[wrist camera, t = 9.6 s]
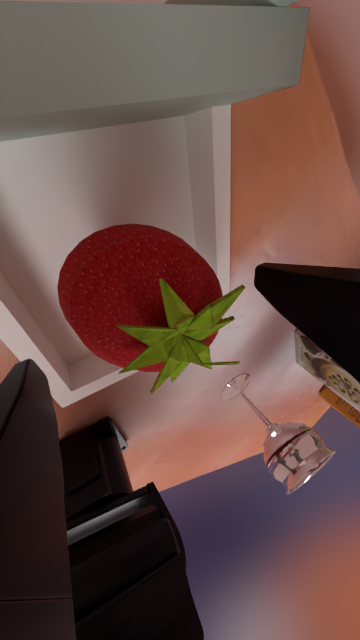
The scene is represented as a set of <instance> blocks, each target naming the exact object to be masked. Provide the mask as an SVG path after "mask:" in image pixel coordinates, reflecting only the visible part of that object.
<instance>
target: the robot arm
mask: <svg viewBox="0 0 360 640" xmlns="http://www.w3.org/2000/svg"><path fill="white" fill-rule="evenodd" d="M254 285H255V288H256V289H257V290H258V291H259V292H260V293H261V294H262V295H263V296H264V297H265V299H266V300H267V301H268V302H269V303H270V304H271V305H272V306H273V307H274V308H275V309H276V310H277V311H278V312H279V313H280V314H281V315H282V316H283V317H285V318H286V319H287V320H288V321H289V322H290V323H291V324H293V325H294V326H295V327H296V328H297V329H298V330H300V331H301V332H302V333H303V334H304V335H305V336H306V337H308V338H309V339H310V340H311V341H312V342H313V343H314V344H316V345H317V346H318V347H319V348H320V349H321V350H322V351H324V352H325V353H326V354H327V355H328V356H329V357H330V358H332V359H333V360H334V361H335V362H336V363H337V364H339V365H340V366H341V367H342V368H343V369H344V370H345V371H347V372H348V373H349V374H350V375H351V376H352V377H353V378H355V379H356V380H357V381H358V382H359V383H360V269H355V268H340V267H324V266H309V265H294V264H278V263H263V264H260V265H258V266H257V267H256V269H255V277H254ZM127 448H128V444H127V442H126V440H125V439H124V437H123V436H122V434H121V433H120V431H119V430H118V428H117V427H116V425H115V424H114V422H113V421H112V419H111V418H105V419H103V420H101V421H100V422H98V423H96V424H94V425H92V426H90V427H88V428H86V429H84V430H82V431H81V432H79V433H77V434H75V435H73V436H71V437H69V438H67V439H65V440H63V441H61V442H60V443H59V437H58V426H57V419H56V414H55V409H54V405H53V401H52V396H51V392H50V388H49V383H48V379H47V377H46V375H45V374H44V372H43V371H42V370H41V369H40V368H39V366H38V365H37V364H36V363H35V362H34V360H32V359H26V360H24V361H21V362H19V363H16V364H15V365H14V367H13V368H12V369H11V371H10V372H9V373H8V375H7V376H6V377H5V378H4V380H3V381H2V382H1V384H0V640H204V634H203V629H202V625H201V622H200V620H199V616H198V613H197V610H196V607H195V604H194V601H193V598H192V595H191V591H190V587H189V584H188V579H187V576H186V556H185V550H184V546H183V542H182V539H181V536H180V533H179V530H178V528H177V526H176V524H175V522H174V520H173V518H172V516H171V515H170V513H169V511H168V509H167V507H166V505H165V503H164V501H163V500H162V498H161V496H160V494H159V492H158V490H157V488H156V486H155V485H154V483H153V482H151V483H149V484H147V486H145V487H142V488H140V489H138V490H136V491H133V489H132V485H131V482H130V479H129V475H128V472H127V468H126V465H125V461H124V458H123V454H122V451H124V450H125V449H127Z"/></svg>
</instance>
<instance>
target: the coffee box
mask: <svg viewBox="0 0 360 640" xmlns="http://www.w3.org/2000/svg"><path fill="white" fill-rule="evenodd" d="M295 343H296V362H297V364H299V365H300V366H301V367H302V368H304V369H305V370H306V371H308V372H309V373H310V374H311V375H313V376H314V377H315V378H317V379H318V380H319V381H320V382H322V383H323V384H324V385H326V386H327V387H328V388H330V389H331V390H332V391H333V392H335V393H336V394H337V395H339V396H340V397H341V398H342V399H344V400H345V401H346V402H348V403H349V404H350V405H351V406H353V407H354V408H355V409H357V410H358V411H359V412H360V383H359V382H358V381H357V380H356V379H355V378H353V377H352V376H351V375H350V374H349V373H348V372H347V371H345V370H344V369H343V368H342V367H341V366H340V365H339V364H337V363H336V362H335V361H334V360H333V359H332V358H330V357H329V356H328V355H327V354H326V353H325V352H324V351H322V350H321V349H320V348H319V347H318V346H317V345H316V344H314V343H313V342H312V341H311V340H310V339H309V338H308V337H306V336H305V335H304V334H303V333H302V332H301V331H300V330H298V329H297V330H296V332H295Z"/></svg>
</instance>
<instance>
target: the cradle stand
mask: <svg viewBox="0 0 360 640" xmlns="http://www.w3.org/2000/svg"><path fill="white" fill-rule="evenodd" d="M296 1H298V0H0V339H1V340H2V341H3V342H4V343H5V345H6V346H7V347H8V348H9V349H10V350H11V351H12V352H13V354H14V355H15V356H16V357H17V358H18V359H19V360H20V361H24V360H26V359H32V360H34V362H35V363H36V364H37V365H38V366H39V368H40V369H41V370H42V371H43V372H44V374H45V375H46V377H47V379H48V383H49V388H50V392H51V396H52V397H53V398H54V400H55V401H56V402H57V403H58V404H59V405H60V406H61V407H62V408H64V407H66V406H68V405H70V404H72V403H74V402H76V401H78V400H80V399H82V398H85V397H87V396H89V395H91V394H93V393H95V392H97V391H99V390H101V389H103V388H105V387H107V386H109V385H111V384H113V383H116V382H118V381H120V380H122V379H124V378H126V377H128V376H130V375H132V374H134V373H136V372H138V371H139V370H132V371H128V372H124V373H121V374H119V372H120V371H121V370H122V369H123V368H122V367H119V366H116V365H113V364H110V363H108V362H106V361H105V360H103V359H101V358H99V357H97V356H96V355H95V354H94V353H93V352H91V351H90V350H89V349H88V348H87V347H86V346H85V345H84V344H83V342H82V341H81V340H80V338H79V337H78V335H77V334H76V333H75V331H74V330H73V329H72V327H71V326H70V325H69V323H68V322H67V320H66V319H65V317H64V314H63V312H62V310H61V307H60V305H59V298H58V290H57V286H58V280H59V273H60V270H61V268H62V266H63V264H64V262H65V260H66V257H67V256H68V254H69V253H70V252H71V251H72V250H73V249H74V248H75V247H76V245H77V244H78V243H79V242H80V241H82V240H83V239H84V238H86V237H88V236H89V235H91V234H92V233H94V232H96V231H99V230H102V229H105V228H108V227H111V226H114V225H124V224H141V225H150V226H154V227H157V228H160V229H163V230H166V231H169V232H170V233H172V234H174V235H176V236H178V237H180V238H181V239H183V240H184V241H185V242H186V243H187V244H189V245H190V246H191V247H192V248H193V249H194V250H195V251H196V252H198V253H199V254H200V255H201V256H202V257H203V258H204V259H205V260H206V261H207V263H208V264H209V265H210V267H211V268H212V269H213V270H214V272H215V274H216V276H217V278H218V280H219V282H220V286H221V290H222V295H223V296H224V295H226V294H228V293H229V292H230V167H231V104H234V103H237V102H241V101H244V100H247V99H251V98H254V97H257V96H261V95H264V94H267V93H271V92H274V91H277V90H281V89H284V88H288V87H291V86H294V85H298V84H299V81H300V74H301V67H302V60H303V53H304V46H305V39H306V32H307V24H308V17H309V10H310V8H309V7H288V6H290V5H291V4H293V3H294V2H296ZM228 317H229V309H228V310H227V311H226V313H225V314H224V315H223V317H222V319H224V318H228ZM227 328H229V323H228V324H227V325H225V326H224V327H222V328H221V329H219V331H218V333H219V332H221V331H223V330H225V329H227Z"/></svg>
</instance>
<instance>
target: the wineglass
mask: <svg viewBox="0 0 360 640" xmlns="http://www.w3.org/2000/svg"><path fill="white" fill-rule="evenodd" d="M249 381H250V376H249V375H247V374H242V375H239V376H237V377H236V378H234V379H233V380H231V381H230V382H229V383H228V384H227V386H226V387H225V388H224V390H223V392H222V398H223V399H224V400H231V399H233V398H235V397H237V396H238V395H240V394H241V396H242V397H243V398H244V399H245V401H246V402H247V403H248V404H249V406H250V407H251V408H252V409H253V411H254V412H255V413H256V414H257V416H258V417H259V418H260V419H261V420H262V422H263V423H264V424H265V425H266V427H267V429H266V432H267V433H268V434H267V437H266V440H265V442H264V460H265V463H266V467H267V469H268V470H269V471H270V473H271V475H272V476H273V477H274V478H275V479H276V480H278V481H280V482H282V483H283V484H284V486H285V489H286V492H287V494H290V493H292V492H293V491H295V490H296V489H298V488H299V487H300V486H301V485H303V484H304V483H305V482H306V481H307V480H309V478H311V477H312V476H313V475H314V474H315V473H316V472H318V470H320V469H321V468H322V467H323V466H324V465H325V464H326V463H327V462H328V460H330V458H331V457H332V456H333V455H334V453H335V450H333V449H331V448H328V447H326V446H325V445H324V443H323V440H322V438H321V437H320V435H319V434H318V433H317V432H316V431H314V430H313V429H312V428H311V427H309V426H307V425H305V424H301V423H293V422H286V423H282V424H277V423H271V422H270V421H269V420H268V418H267V417H266V416H265V415H264V414H263V413H262V412H261V411H260V410H259V409H258V408H257V407H256V406H255V405H254V404H253V403H252V402H251V401H250V400H249V399H248V398H247V397H246V396H245V395H244V394H243V391H244V390H245V389H246V387H247V386H248V384H249Z"/></svg>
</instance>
